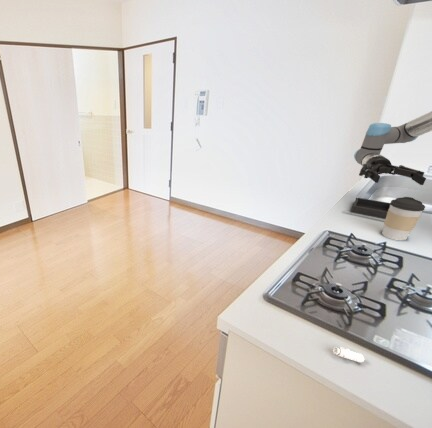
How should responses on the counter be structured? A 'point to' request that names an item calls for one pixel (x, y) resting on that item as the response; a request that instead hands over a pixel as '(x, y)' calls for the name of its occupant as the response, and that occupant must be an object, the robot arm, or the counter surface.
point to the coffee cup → (402, 217)
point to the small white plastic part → (348, 354)
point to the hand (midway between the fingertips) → (400, 180)
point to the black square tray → (371, 207)
